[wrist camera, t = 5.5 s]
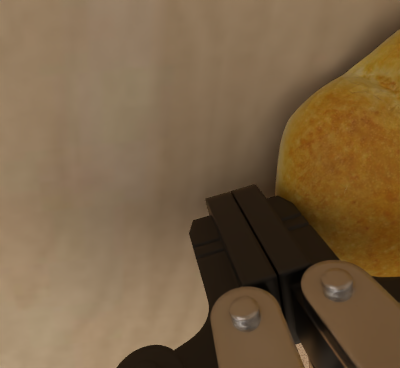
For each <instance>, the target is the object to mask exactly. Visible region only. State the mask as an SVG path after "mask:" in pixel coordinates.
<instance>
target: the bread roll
mask: <svg viewBox="0 0 400 368" xmlns="http://www.w3.org/2000/svg"><path fill="white" fill-rule="evenodd" d="M277 195H278V196H280V197H282V198H284V199H286V200H288V201H290V202H292V203H293V204H294V205H295V206H296V208H297V209H298V210H299V211H300V212H301V215H302V216H304V217H305V218H306V220H307V221H308V222H309V225H311V226H312V227H313V228H314V229H315V230H316V232H317V233H318V234H319V235H320V236H321V238H322V239H323V240H324V241H325V242H326V244H327V245H328V246H329V247H330V248H331V250H332V251H333V252H334V253H335V255H336V256H337V257H338V258H339V259H340V260H341V261H346V262H350V263H353V264H355V265H357V266H359V267H361V268H362V269H364V270H365V271H366V272H367V273H369V274H370V275H371V276H376V277H400V29H399V30H398V31H397V32H395V33H394V34H393V35H392V36H390V37H389V38H388V39H387V40H385V41H384V42H383V43H382V44H381V45H379V46H378V47H377V48H376V49H375V50H374V51H373V52H371V53H370V54H369V55H368V56H366V57H365V58H363V59H362V60H361V61H360V62H359V63H357V64H356V65H354V66H353V67H352V68H351V69H350V70H348V71H347V72H346V73H345V74H343V75H342V76H340V77H338V78H337V79H334V80H332V81H331V82H329V83H328V84H326V85H325V86H323V87H322V88H321V89H319V90H318V91H316V92H315V93H314V94H312V95H311V96H310V97H309V98H308V99H307V100H306V101H305V102H304V103H303V104H302V105H301V106H300V107H299V108H298V109H297V110H296V111H295V112H294V113H293V115H292V116H291V117H290V119H289V120H288V122H287V124H286V127H285V129H284V132H283V136H282V139H281V143H280V149H279V157H278V165H277V174H276V186H275V196H277Z"/></svg>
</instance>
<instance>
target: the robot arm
mask: <svg viewBox="0 0 400 368" xmlns="http://www.w3.org/2000/svg"><path fill="white" fill-rule="evenodd" d="M206 205H207V209H208V213H209V216H207V217H203V218H200V219H196V220H193V222H192V226H191V229H190V232H189V235H190V238H191V242H192V245H193V249H194V252H195V256H196V259H197V263H198V266H199V270H200V274H201V277H202V281H203V284H204V288H205V291H206V295H207V298H208V302H209V313H208V317H207V320H206V322H205V324H204V326H203V327H202V328H201V330H200V331H199V332H198V333H197V334H196V335H195V336H194V337H193V338H191V339H190V340H189V341H187V342H186V343H184V344H183V345H181V346H180V347H178V348H177V349H175V350H172V349H171V348H168V347H166V346H162V345H150V346H146V347H142V348H140V349H138V350H136V351H134V352H132V353H131V354H129V355H128V356H127V357H126V358H125V359H124V360H123V361H122V362H121V363H120V364H119V365H118V367H117V368H305V367H304V365H303V362H302V360H301V357H300V355H299V352H298V350H297V347H296V345H295V344H298V343H301V344H302V345H303V347H304V349H305V351H306V353H307V355H308V359H309V368H400V277H376V276H371V275H370V274H369V273H367V272H366V271H365V270H364V269H362V268H361V267H359V266H357V265H355V264H353V263H350V262H346V261H341V260H340V259H339V258H338V257H337V256H336V255H335V253H334V252H333V251H332V250H331V248H330V247H329V246H328V245H327V244H326V242H325V241H324V240H323V239H322V238H321V236H320V235H319V234H318V233H317V232H316V230H315V229H314V228H313V227H312V226H311V225H309V222H308V221H307V220H306V218H305V217H304V216H302V215H301V212H300V211H299V210H298V209H297V208H296V206H295V205H294V204H293V203H292V202H290V201H288V200H286V199H284V198H282V197H280V196H278V195H277V196H274V197H271V198H267V199H266V198H265V197H264V195H263V194H262V192H261V191H260V190H259V188H258V187H257V186H256V185H255V184H254V185H251V186H247V187H244V188H240V189H237V190H233V191H231V193H230V192H227V193H223V194H220V195H217V196H213V197H210V198H206Z"/></svg>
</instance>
